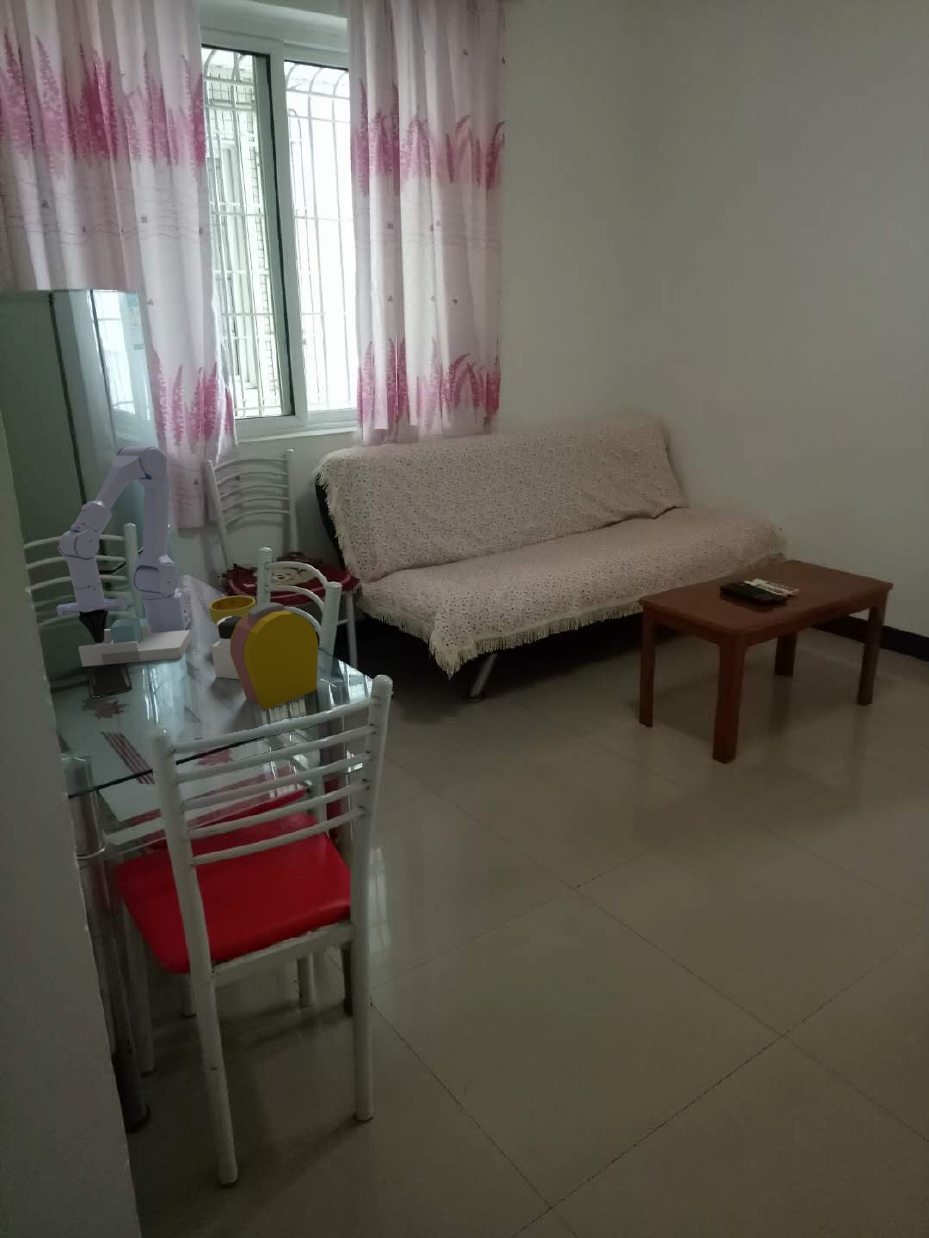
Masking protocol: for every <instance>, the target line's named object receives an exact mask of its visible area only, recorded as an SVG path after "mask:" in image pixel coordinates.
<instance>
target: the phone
mask: <svg viewBox="0 0 929 1238" xmlns="http://www.w3.org/2000/svg"><path fill="white" fill-rule="evenodd" d="M128 671H129V670H128V668H127V665H126V663H117V664H110V665H107V666H100V667H97V668H92V669H89V670H88V671H87V681H88V685H89V689H90V694H91V697H92V696H95V697H97V696H103V695H108V694H113V693H114V694H113V695H116V694H115V693H117V694H120V693H126V692H129V691H131V690H132V689H133V684H132V681H131V678H130V675H129V672H128ZM108 696H109V695H108Z"/></svg>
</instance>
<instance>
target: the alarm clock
mask: <svg viewBox="0 0 929 1238" xmlns="http://www.w3.org/2000/svg"><path fill="white" fill-rule="evenodd" d="M318 652H319V639H318V635H317V633H316V630H315V627H314V626H313V625H312V624H311V623H310V621H309V620H308V619H307V618H306V617H303V616H301V615H298V614H296V613H293V612H291V611H288V610H286V607H285V605H284V604H281V603H279V602H273V601H272V602H264V603H260V604H258V605H257V604H256V607H254V608H252V609H251V610H250V611H249V612H248V613H246V614H245V615H244V616H243V618H242V619H241V620H240V621H239V622H238V623H237V624H236V626H235V629H234V631H233V634H232V636H231V639H230V655H231V657H232V660H233V663H234V665H235V668H236V671H237V673H238V676H239V679H238V680H239V682H240V684H241V687H242V690H243V692H244V695H245V698H246V699H247V700H249V701H250V702H251V703H254V704H256V705H258V706H259V707H261V708H263V709H265V710H266V711H267V710H268V709H269V710H270V709H271V708H275V707H277V706H279V705H282V704H284V703H287V702H290V701H292V700H295V699H297V698H300V697H302V696H305V695H307V694H310V693H312V692H314V691H315V692H316V691H317V689H318V688H317V687H318V686H317V685H318V659H319V658H318V656H319V653H318Z"/></svg>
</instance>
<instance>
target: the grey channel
mask: <svg viewBox="0 0 929 1238" xmlns="http://www.w3.org/2000/svg"><path fill="white" fill-rule="evenodd" d="M141 630H142V635H143V639H142V641H141V642H140V643H139V644H138V641H131V642H120V643H113V639H112V634H111V630H110V628H105V629H104V641H103V642H102V643H95V644H89V645H88V644H87V645H79V646H78V653H79V656H80V661H81V665H82V668H83V667H93V666H105V665H115V664H121V663H124V664H126V663H138V662H147V661H148V662H149V661H159V660H171V659H180V658H183V656H184V654H186V653H185V652H186V651H187V649H188V647H189V645H190V644H191V642H192V640H193V639H192V633H191V629H187V630H186V629H185V630H184V631H172V632H161V633H151V631H150V626H149V625H148V624H147V625H141Z"/></svg>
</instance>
